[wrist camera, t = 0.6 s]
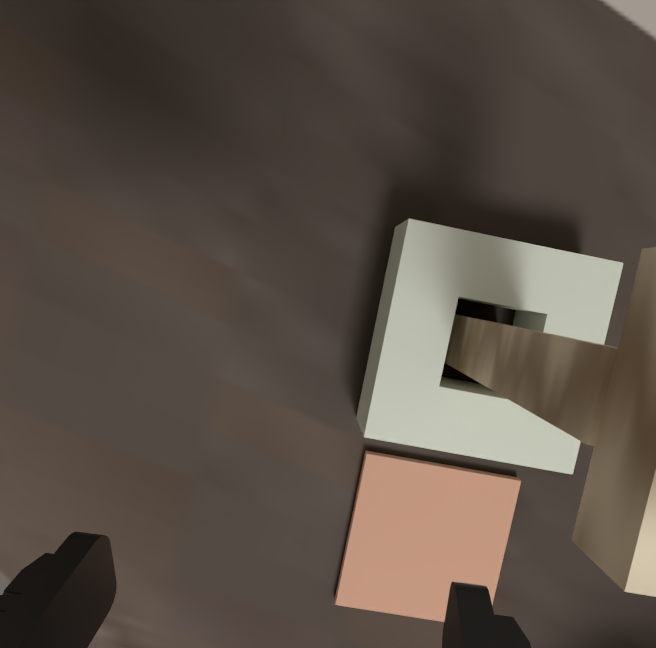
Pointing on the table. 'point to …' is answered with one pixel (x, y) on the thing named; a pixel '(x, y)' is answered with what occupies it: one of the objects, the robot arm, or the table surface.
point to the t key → (588, 418)
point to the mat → (423, 535)
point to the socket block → (435, 329)
